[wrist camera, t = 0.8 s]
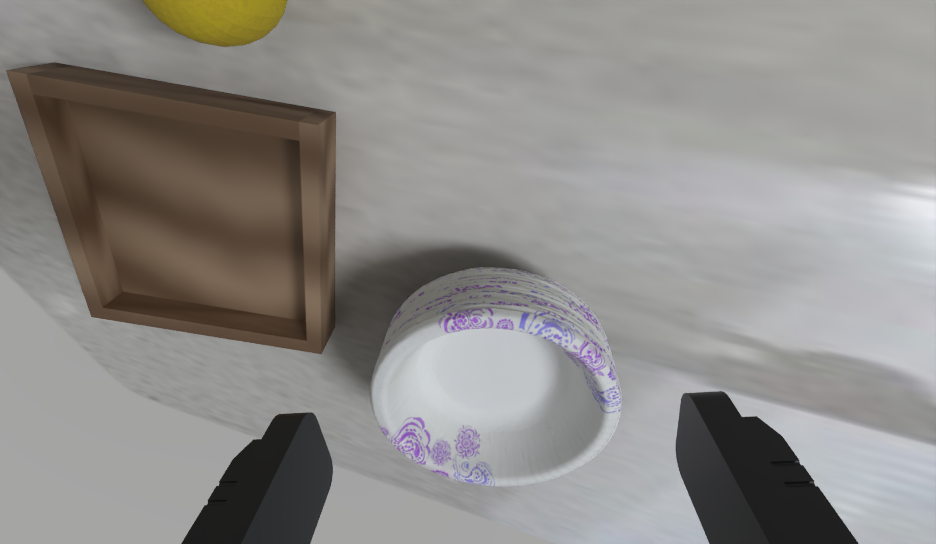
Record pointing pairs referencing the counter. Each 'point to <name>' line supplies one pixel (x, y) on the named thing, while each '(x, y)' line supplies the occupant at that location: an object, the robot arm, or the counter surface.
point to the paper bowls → (496, 379)
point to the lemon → (220, 19)
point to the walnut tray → (189, 203)
